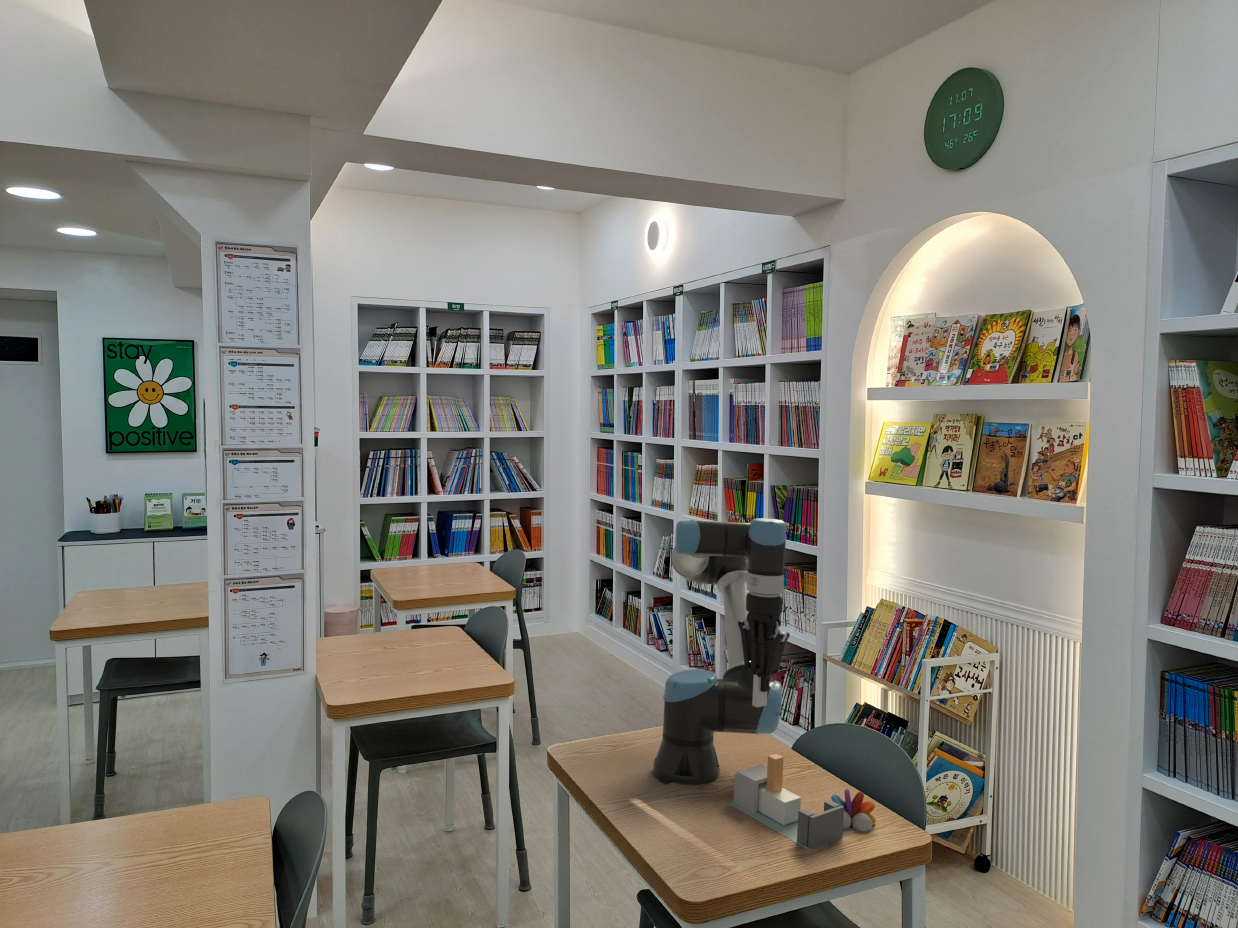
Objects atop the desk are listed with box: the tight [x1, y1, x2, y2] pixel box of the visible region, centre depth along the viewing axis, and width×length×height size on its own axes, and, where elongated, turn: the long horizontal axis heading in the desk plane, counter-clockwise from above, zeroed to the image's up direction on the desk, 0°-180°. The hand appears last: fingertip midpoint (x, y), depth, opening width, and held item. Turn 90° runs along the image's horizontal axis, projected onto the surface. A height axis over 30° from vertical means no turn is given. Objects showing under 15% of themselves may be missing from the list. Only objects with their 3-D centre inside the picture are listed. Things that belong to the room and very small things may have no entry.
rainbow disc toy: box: [830, 788, 876, 833], centre depth 168 cm, size 8×10×7 cm
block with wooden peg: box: [757, 753, 802, 825], centre depth 170 cm, size 12×5×12 cm, turn 35°
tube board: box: [728, 763, 845, 851], centre depth 167 cm, size 22×10×8 cm, turn 35°
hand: (759, 705), depth 173 cm, fingers closed
